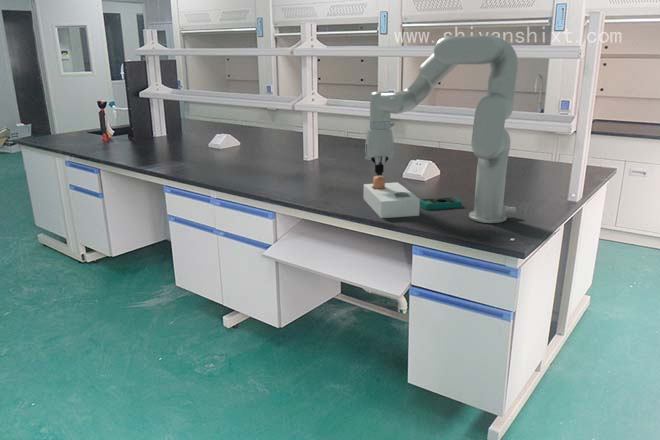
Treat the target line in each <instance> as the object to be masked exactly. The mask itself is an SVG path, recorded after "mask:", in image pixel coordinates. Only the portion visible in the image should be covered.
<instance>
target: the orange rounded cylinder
mask: <svg viewBox="0 0 660 440" xmlns="http://www.w3.org/2000/svg"><path fill="white" fill-rule="evenodd" d="M372 180H373V181H372V182H373V183H372V184H373V189H385V183H386V177H385V176H383V175H376V176H373V179H372Z"/></svg>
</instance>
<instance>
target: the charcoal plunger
mask: <svg viewBox="0 0 660 440" xmlns="http://www.w3.org/2000/svg"><path fill="white" fill-rule="evenodd" d="M396 197H408V193H406V192H398V193H396Z"/></svg>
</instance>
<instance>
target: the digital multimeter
mask: <svg viewBox="0 0 660 440" xmlns="http://www.w3.org/2000/svg"><path fill="white" fill-rule="evenodd" d="M462 206H463V202H462V201H461V200H459V198H457V197H454V196H451V197H438V198H424V199H423V198H422V199H420V207H421V208H422V209H424V210H426V211H432V210H433V211H434V210H443V209H444V210H445V209H457V208H458V209H459V208H460V209H461V208H462Z"/></svg>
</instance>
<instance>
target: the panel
mask: <svg viewBox="0 0 660 440" xmlns="http://www.w3.org/2000/svg"><path fill="white" fill-rule="evenodd" d="M398 192H406V193H408V197H396V193H398ZM363 200H364V202H366V204H368V206H370V208H371V209H372V210H373V211H374V212H375V213H376V214H377V215H378V217H379V218H380V219H387V218H402V217H404V218H405V217H406V218H407V217H419V216H420V207H421V206H420V200H421V199H420V198H419V197H417V196H416V195H415V194H414V193H413V192H411V191H409V190H408V188H406V187H405V186H403V185H402V184H400V183H399V182H397V181H396V182H385V189H373V183H364V184H363Z"/></svg>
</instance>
